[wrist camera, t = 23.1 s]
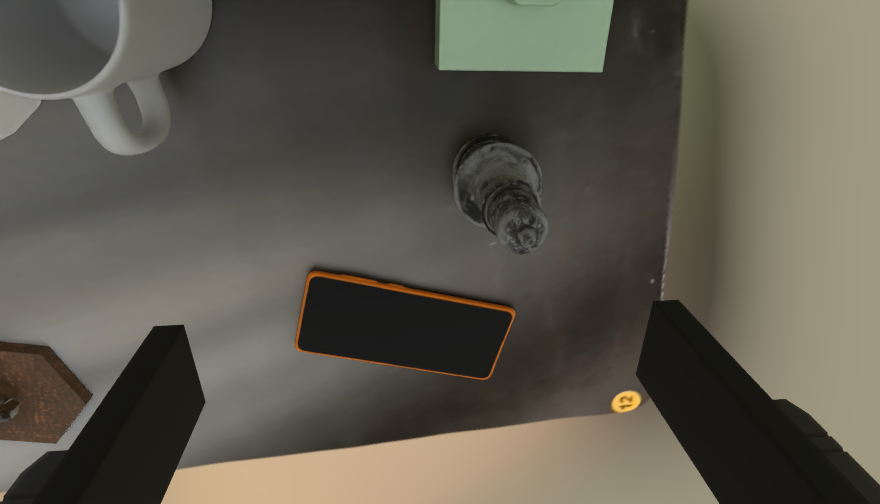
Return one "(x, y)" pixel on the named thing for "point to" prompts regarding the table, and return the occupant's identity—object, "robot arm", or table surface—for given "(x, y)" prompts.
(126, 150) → the mug
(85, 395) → the robot figurine
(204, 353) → the table surface
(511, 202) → the salt shaker
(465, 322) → the smartphone
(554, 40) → the green button housing
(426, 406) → the table surface
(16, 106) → the container
